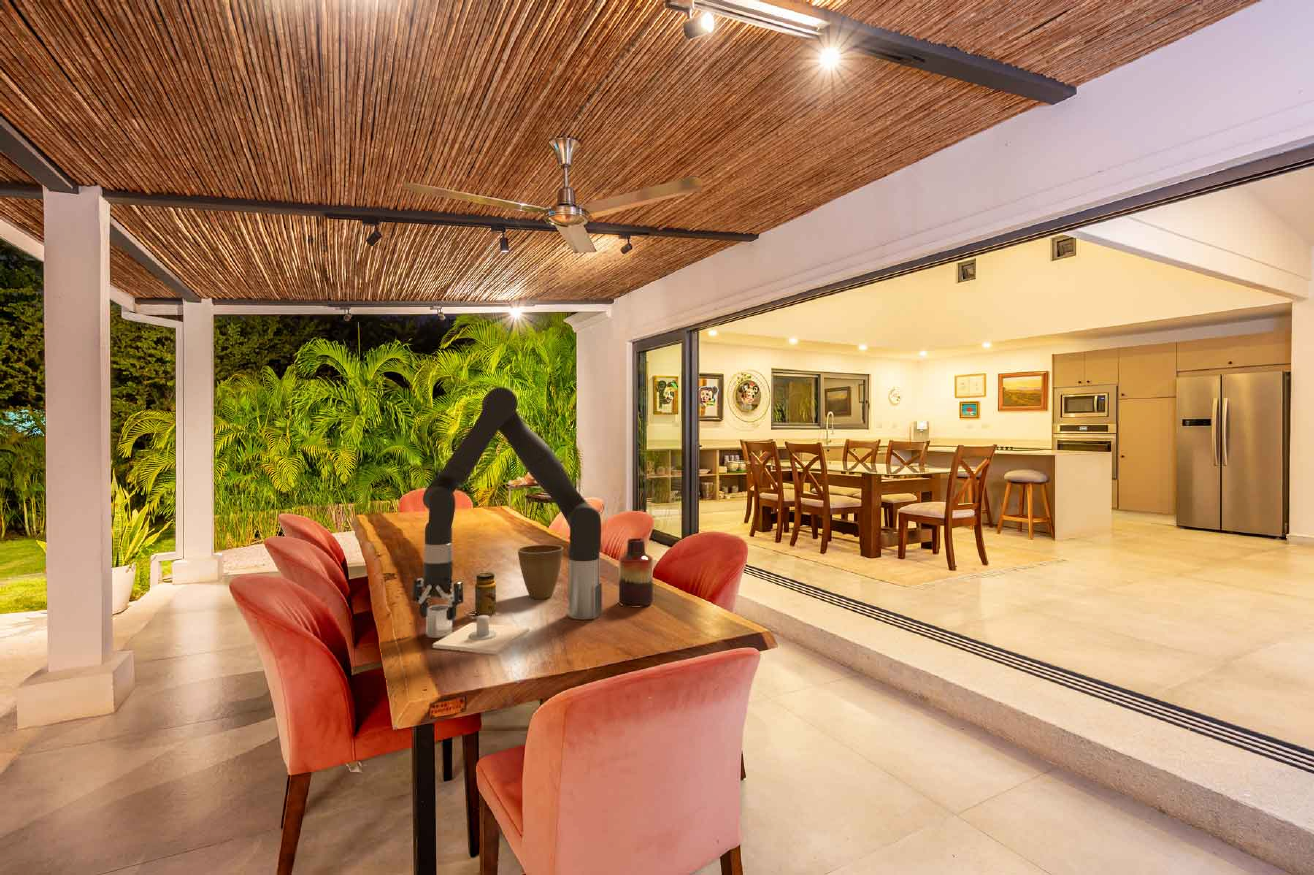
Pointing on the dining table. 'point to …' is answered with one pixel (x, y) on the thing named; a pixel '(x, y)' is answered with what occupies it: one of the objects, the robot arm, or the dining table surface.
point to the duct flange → (481, 637)
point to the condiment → (484, 596)
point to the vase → (635, 575)
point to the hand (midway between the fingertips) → (437, 618)
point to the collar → (438, 621)
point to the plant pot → (540, 568)
